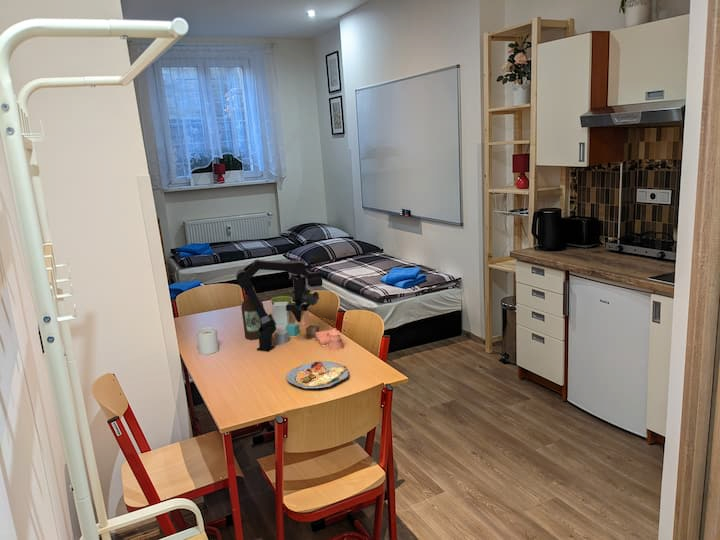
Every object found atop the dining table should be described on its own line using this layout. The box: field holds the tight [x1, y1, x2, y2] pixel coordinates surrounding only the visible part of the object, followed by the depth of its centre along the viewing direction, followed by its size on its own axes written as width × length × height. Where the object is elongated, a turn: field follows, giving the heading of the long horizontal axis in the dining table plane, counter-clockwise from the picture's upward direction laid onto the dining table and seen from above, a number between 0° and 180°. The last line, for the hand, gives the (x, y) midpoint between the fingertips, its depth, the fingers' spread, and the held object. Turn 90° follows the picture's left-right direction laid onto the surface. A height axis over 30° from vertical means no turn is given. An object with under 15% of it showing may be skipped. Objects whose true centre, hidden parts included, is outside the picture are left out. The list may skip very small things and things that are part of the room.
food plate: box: [285, 360, 350, 389], centre depth 221 cm, size 25×23×4 cm
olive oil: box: [241, 286, 265, 341], centre depth 269 cm, size 11×11×25 cm
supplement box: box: [272, 302, 291, 330], centre depth 284 cm, size 7×7×13 cm
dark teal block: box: [285, 322, 301, 337], centre depth 273 cm, size 5×5×5 cm
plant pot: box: [270, 295, 294, 319], centre depth 297 cm, size 12×12×11 cm
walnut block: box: [305, 324, 321, 339], centre depth 269 cm, size 5×5×5 cm
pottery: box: [315, 327, 343, 351], centre depth 257 cm, size 18×10×10 cm, turn 22°
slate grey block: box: [274, 329, 290, 345], centre depth 263 cm, size 5×5×5 cm
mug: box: [196, 327, 220, 355], centre depth 255 cm, size 11×10×10 cm
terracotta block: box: [293, 310, 310, 326], centre depth 257 cm, size 5×5×5 cm
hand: (301, 320), depth 257 cm, fingers closed on terracotta block, 5 cm apart
